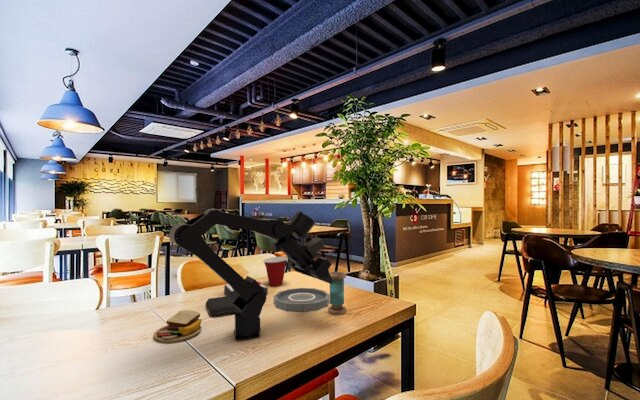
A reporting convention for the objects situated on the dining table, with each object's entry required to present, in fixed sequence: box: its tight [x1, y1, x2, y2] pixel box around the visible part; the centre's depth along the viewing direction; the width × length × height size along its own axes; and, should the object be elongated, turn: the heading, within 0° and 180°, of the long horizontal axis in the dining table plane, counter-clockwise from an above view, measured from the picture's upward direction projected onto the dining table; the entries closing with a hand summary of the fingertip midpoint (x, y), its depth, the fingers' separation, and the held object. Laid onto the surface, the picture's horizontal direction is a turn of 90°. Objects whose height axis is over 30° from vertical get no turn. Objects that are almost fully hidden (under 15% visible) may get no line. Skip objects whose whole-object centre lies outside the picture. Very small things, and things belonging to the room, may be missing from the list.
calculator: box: [223, 281, 269, 299], centre depth 131 cm, size 11×4×15 cm
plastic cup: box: [262, 256, 288, 287], centre depth 144 cm, size 11×11×12 cm
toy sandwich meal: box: [153, 309, 202, 343], centre depth 93 cm, size 12×14×5 cm
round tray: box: [273, 287, 330, 313], centre depth 120 cm, size 20×20×2 cm
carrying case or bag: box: [205, 295, 236, 318], centre depth 113 cm, size 11×3×15 cm
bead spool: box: [327, 271, 347, 316], centre depth 109 cm, size 6×6×13 cm
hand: (323, 279), depth 106 cm, fingers open, 9 cm apart
